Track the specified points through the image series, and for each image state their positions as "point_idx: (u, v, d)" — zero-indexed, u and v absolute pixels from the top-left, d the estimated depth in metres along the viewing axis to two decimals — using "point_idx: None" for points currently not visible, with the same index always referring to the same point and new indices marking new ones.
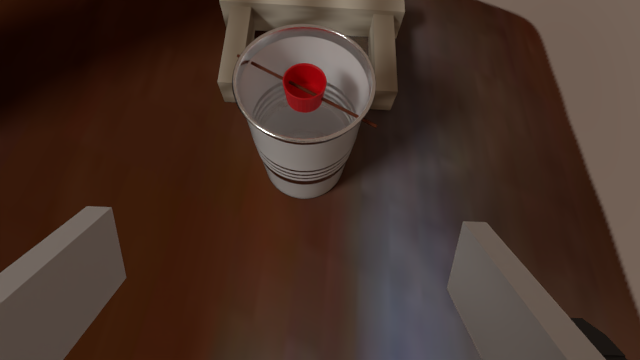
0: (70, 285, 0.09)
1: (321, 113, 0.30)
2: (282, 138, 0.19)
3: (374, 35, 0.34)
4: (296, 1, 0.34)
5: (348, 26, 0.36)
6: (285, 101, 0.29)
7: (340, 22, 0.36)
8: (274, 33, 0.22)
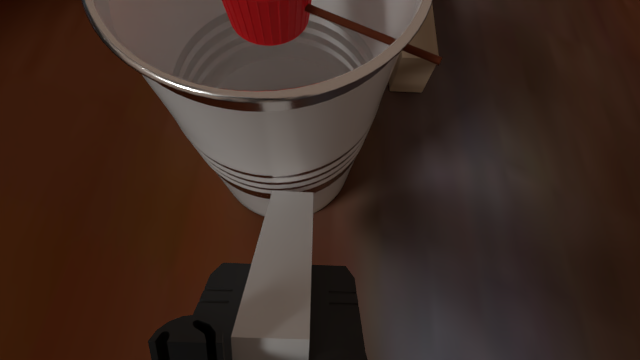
0: None
1: (309, 76, 0.18)
2: (205, 93, 0.07)
3: None
4: None
5: None
6: (243, 53, 0.16)
7: None
8: None
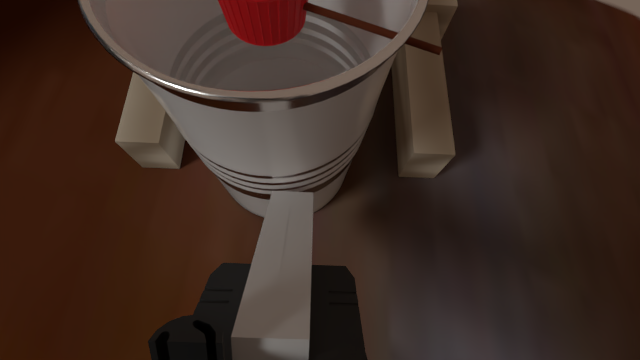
0: None
1: (302, 75, 0.18)
2: (216, 96, 0.07)
3: (406, 48, 0.19)
4: None
5: None
6: (236, 56, 0.16)
7: None
8: None
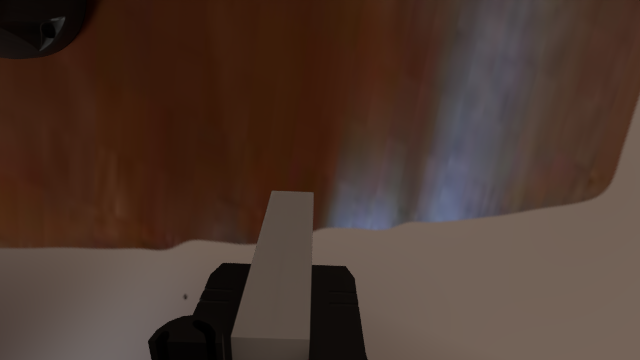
0: None
1: None
2: None
3: None
4: None
5: None
6: None
7: None
8: None
